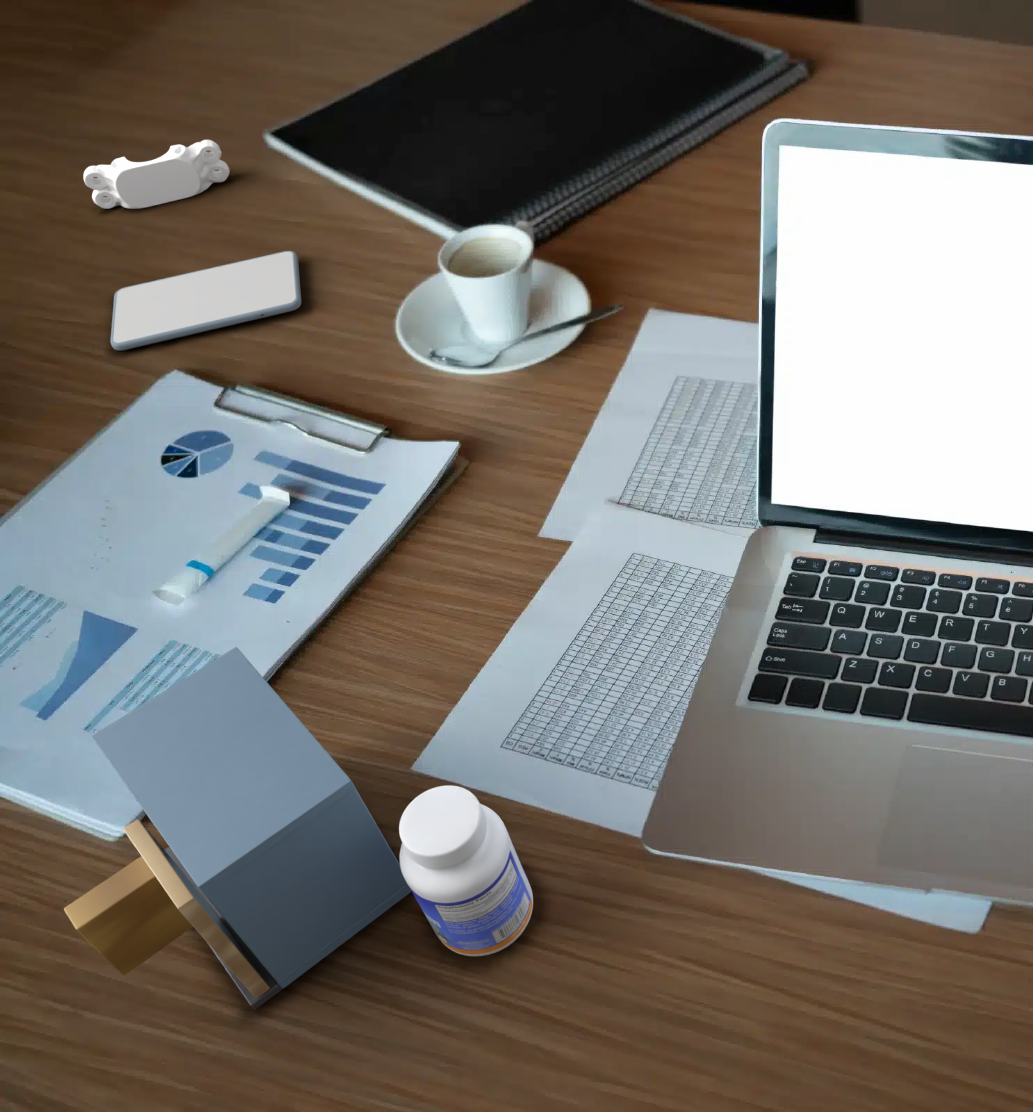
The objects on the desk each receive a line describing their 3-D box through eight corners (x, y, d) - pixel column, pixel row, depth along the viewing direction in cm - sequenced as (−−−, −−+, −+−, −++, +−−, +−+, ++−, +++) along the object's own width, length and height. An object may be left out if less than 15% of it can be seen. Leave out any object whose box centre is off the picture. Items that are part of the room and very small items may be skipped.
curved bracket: (98, 219, 119) (78, 180, 116) (97, 205, 120) (77, 167, 118) (234, 186, 122) (217, 148, 119) (232, 173, 123) (215, 135, 120)
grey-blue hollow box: (254, 1010, 68) (165, 910, 59) (153, 864, 74) (59, 755, 66) (414, 889, 72) (351, 780, 64) (306, 761, 78) (236, 646, 70)
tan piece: (183, 1054, 65) (93, 968, 58) (132, 973, 68) (40, 882, 61) (270, 988, 68) (193, 897, 60) (217, 913, 71) (138, 818, 63)
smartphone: (113, 288, 110) (295, 247, 112) (119, 297, 111) (299, 257, 113) (108, 347, 104) (299, 302, 107) (114, 356, 105) (303, 312, 108)
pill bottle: (430, 884, 72) (376, 789, 65) (527, 855, 73) (485, 758, 66) (441, 974, 69) (386, 883, 61) (543, 941, 69) (501, 849, 62)
